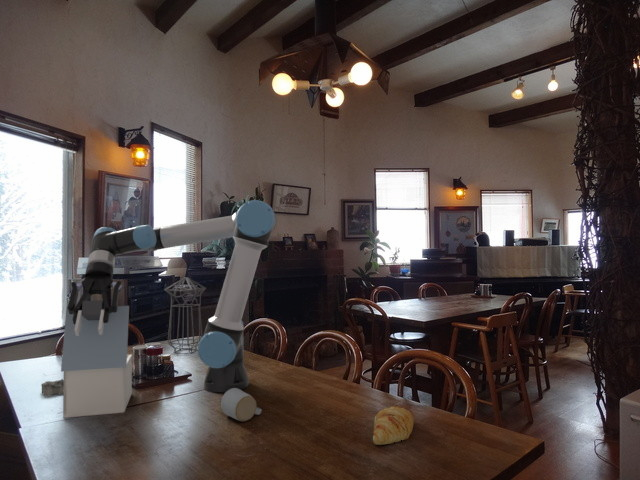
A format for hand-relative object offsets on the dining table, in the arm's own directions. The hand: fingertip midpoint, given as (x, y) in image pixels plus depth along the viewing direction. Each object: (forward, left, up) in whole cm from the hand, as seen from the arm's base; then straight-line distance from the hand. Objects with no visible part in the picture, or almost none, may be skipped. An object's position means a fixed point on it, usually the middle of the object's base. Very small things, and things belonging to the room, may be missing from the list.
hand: (88, 332), depth 125 cm
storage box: (+5, -17, -25) cm, 31 cm away
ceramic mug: (-41, -6, -25) cm, 48 cm away
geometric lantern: (0, -94, -25) cm, 98 cm away
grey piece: (+25, -32, -26) cm, 48 cm away
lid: (+3, -11, -4) cm, 12 cm away
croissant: (-81, +6, -26) cm, 85 cm away
